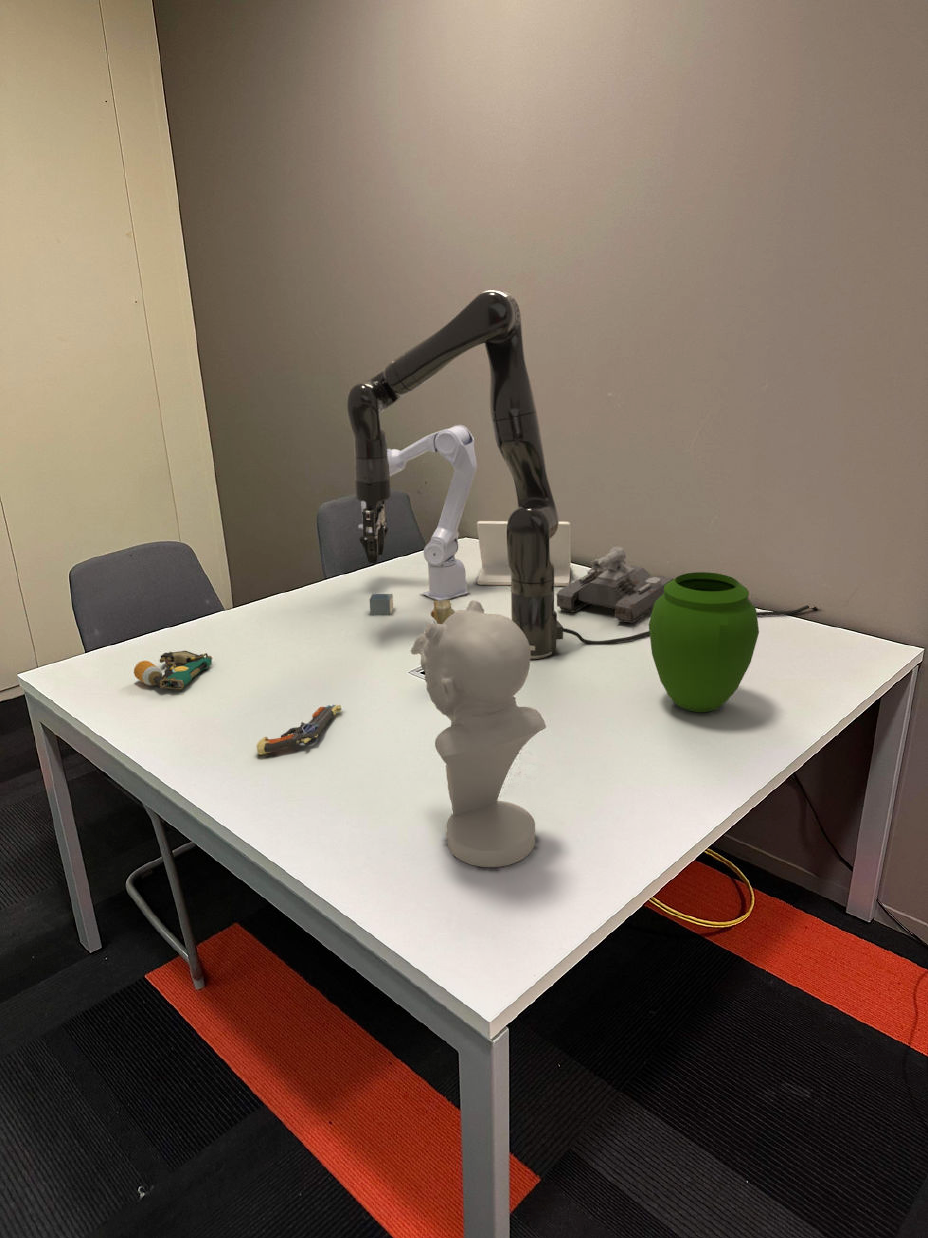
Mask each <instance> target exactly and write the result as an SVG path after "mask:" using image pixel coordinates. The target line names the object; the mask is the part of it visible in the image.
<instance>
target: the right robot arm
mask: <svg viewBox="0 0 928 1238" xmlns="http://www.w3.org/2000/svg"><path fill="white" fill-rule="evenodd" d="M522 329H523V328H522V315H521V310H520V307H519V304H518V302H517V300H516V299H515V298H514V297H513V296H512V295H511V294H510V293H508V292H506V291H503V290H497V289H490V290H484V291H481V292H480V293H478V294H477V295H476V296H475V297H474V298H473V299H472V300H471V301H470V302H469V303H468V304H467V305H466V306H465V307H464V308H462V310H461V311H460V312H459V313H458V314H457V315H456V316H454V317H453V318H452V319H451V320H450V321H448V323H446V324H445V325H444V326H442V327H441V328H440V329H439V330H438V331H436V332H435V333H433V334H432V335H431V336H429V337H427V338H426V339H425V340H423V341H422V342H419V343H418V344H416V345H415V346H413V347H411V348H410V349H409V350H407V351H405V352H404V353H403V354H401V355H400V356H398V357H396V358H395V359H393V361H391V362H390V363H388V364H387V365H386V367H385V368H384V369H383V371H381V372H379V373H377V374H376V375H375V376H373V377H372V378H370V379H368V380H366V381H363V382H359V383H356V384H354V385H353V386H351V388H349V390H348V393H347V396H346V411H347V416H348V421H349V424H350V428H351V432H352V435H353V449H354V451H353V452H354V464H353V465H354V467H353V468H354V469H353V470H354V484H355V497H356V500H358V501H359V502H361V501H364V502H366V508H364V510H363V511H362V510H361V517H362V516H363V521H362V524H363V529H362V537H364V538H366V539H367V553H368V555H377V554H378V544H384V545H385V543H386V537H385V535H384V528H383V527H386V523H387V510H386V501H388V500H389V499H390V498H391V495H392V493H391V492H392V491H391V476H390V470H389V462H388V456H387V449H388V439H387V438H388V437H387V433H386V431H385V430H384V429H383V428H382V426H381V420H380V413H382V412H384V411H385V410H387V409H388V408H390V407H391V406H392V405H394V404H395V403H396V402H397V401H399V400H400V399H401V398H402V397H403V396H406V395H408V394H409V393H411V392H412V391H414V390H416V389H417V388H419V387H421V386H422V385H423V384H425V383H426V382H428V381H429V380H431V379H432V378H433V377H435V376H437V374H439V372H441V371H442V370H443V369H445V367H447V366H448V365H449V364H450V363H451V362H452V361H454V360H455V359H457V358H458V357H460V356H461V355H462V354H464V353H466V352H468V351H470V350H471V349H473V348H476V347H478V346H480V345H482V344H484V347H485V351H486V355H487V359H488V364H489V372H490V373H489V375H490V376H489V377H490V380H489V411H490V418H491V425H492V428H493V429H492V430H493V434H494V438H495V443H496V445H497V448H498V450H499V453H500V454H501V457H502V459H503V460H504V462H505V465H506V466H507V467H508V470H509V471H510V473H511V476H512V479H513V482H514V488H515V492H516V499H517V508H516V509H515V510H514V511H512V512H511V513H510V515H509V517H508V519H507V521H508V523H507V555H508V564H509V567H510V570H511V585H510V588H511V589H510V597H511V599H510V603H511V604H510V606H511V607H510V609H511V610H510V615H511V617H510V619H511V620H512V621H513V622H514V623H515V624H516V625H517V626H518V627H519V628H520V629H521V630H522V632H523V633H524V634H525V636H526V638H527V640H528V643H529V646H530V652H531V653H530V655H531V656H530V660H540V659H545V658H548V657H550V656H552V655H557V654H558V653H557V650H558V649H557V648H558V647H557V645H558V644H557V643H558V641H560V640H564V633H566V634H570V635H573V636H575V637H576V638H577V639H578V640H579V641H580V642H582V643H584V644H587V645H610V644H616V643H617V644H618V643H622V642H623V643H624V642H628V641H632V640H637V639H639V638H642V637H647V636H650V632H649V630H647V631H643V632H641V633H637V634H634V635H630V636H626V637H625V636H624V637H619V638H612V639H606V640H590V639H585V638H583V636H582V635H581V634H580V633H579V632H577V631H575V630H573V629H569V628H566V627H564V626H563V625H562V624H561V623H560V622H559V620H558V613H557V612H556V611H555V586H554V565H553V563H552V562H550V547H549V540H550V539H551V538H552V537H553V536H554V534H555V533H556V531H557V528H558V524H559V522H560V520H559V514H558V513H559V512H558V509H557V506H556V502H555V500H554V495H553V493H552V489H551V485H550V483H549V479H548V473H547V468H546V461H545V455H544V448H543V442H542V435H541V427H540V424H539V422H540V421H539V416H538V412H537V407H536V402H535V398H534V393H533V389H532V384H531V380H530V376H529V371H528V368H527V364H526V359H525V353H524V352H525V351H524V343H523V330H522ZM369 529H372V532H369ZM808 605H809V604H807V605H804V606H802V607H800V608H797V609H792V610H779V611H756V612H757V617H758V616H760V617H761V616H784V615H785V616H786V615H787V616H788V615H795V614H798V613H801V612H804V611H806V610H809V609H810V608H809V606H808ZM811 610H813V611H816V612H817V611H818V612H819V608H818V607H817V606H815V607H814V608H811Z"/></svg>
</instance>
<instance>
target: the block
mask: <svg viewBox="0 0 928 1238" xmlns="http://www.w3.org/2000/svg"><path fill="white" fill-rule="evenodd" d="M368 599H369V613H370V615H371V616H391V615H392V613H393V611H394V596H393V593H372V594H371V596H370V598H368Z"/></svg>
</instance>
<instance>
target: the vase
mask: <svg viewBox="0 0 928 1238" xmlns="http://www.w3.org/2000/svg"><path fill="white" fill-rule="evenodd" d="M749 595H750V591H749V589H748V588H747V587H746V586H744V585H743V583H740V582H739V581H738V580H737V579H735V578H734V577H732V576H730V575H726V574H721V573H716V572H708V571H707V572H706V571H698V572H697V571H696V572H687V573H682V574H680V575H677V576H676V577H675V578H674V579H673V580H672V581H670V582H668V583H667V584H666V585H665V586H664V594H663V595H662V596H661V597H660V598H659V599H657V601H656V602H655V603H654V606H653V609H652V610H651V613H650V617H649V621H648V631H649V632H650V635H649V638H650V639H649V641H650V648H651V655H652V658H653V659H652V660H653V662H654V665H655V668H656V671H657V675H658V677H659V680H660V683H661V685H662V687H663V688H664V690H665V692H666V693H667V695H668V696H669V698H670V699H671V700H672V701H673V702H674V704H675V705H676V706H678V707H679V708H681V709H684V710H687V711H690V712H694V713H707V712H712V711H715V710H717V709H719V708H721V707H722V706H723V705H724V704H725V703H726V702H728V701H729V699H730V698H731V697H732V696H733V694H734V693H735V692H736V691H737V690H738V688H739V686H740V684H741V683H742V680H743V678H744V677H745V675H746V673H747V671H748V668H749V667H750V665H751V663H752V659H753V655H754V653H755V649H756V645H757V642H758V637H759V634H760V628H759V620H758V616H757V612H758V611H757V609H756V607H755V605H753V603H752V602H751V600H750V599H749Z"/></svg>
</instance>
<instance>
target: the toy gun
mask: <svg viewBox="0 0 928 1238" xmlns="http://www.w3.org/2000/svg"><path fill="white" fill-rule="evenodd" d="M341 711H342V705H340V704H332V705H327V706H319V707H318V708H317V709H316V710H315V712H313V714H312V715H311V716H312V719H311V720H310V721H308V722H306V723H305V722H303V721H301V722H300V725H299V726H298V727H296V726H294V727H291V728H289V729H288V730H287V731H286V732H284V733H282V734H281V735H280V737H277V738H268V737H267V736H264V737H263V738H261V739H260V740H258V742H257V743H256V752H257V754H258V755H260V756H261V755H266V754H269V753H273V752H277V751H281V750H284V749H287V748H292V747H294V746H297V745H301V744H303V743H304V744H308V743H309V742H310V741H311V740H314V739H316V738H318V736H319V735H320V734H322V732H323V731H324V729H325V728H326V725H327V724H328V723H329V722H330V721H331V719H333V717H334V716H336V715H337V713H339V712H341Z"/></svg>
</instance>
